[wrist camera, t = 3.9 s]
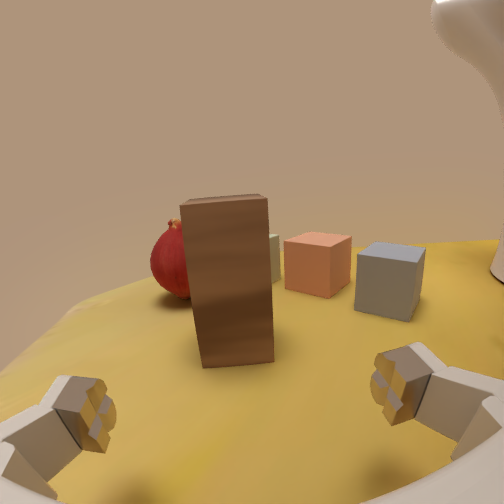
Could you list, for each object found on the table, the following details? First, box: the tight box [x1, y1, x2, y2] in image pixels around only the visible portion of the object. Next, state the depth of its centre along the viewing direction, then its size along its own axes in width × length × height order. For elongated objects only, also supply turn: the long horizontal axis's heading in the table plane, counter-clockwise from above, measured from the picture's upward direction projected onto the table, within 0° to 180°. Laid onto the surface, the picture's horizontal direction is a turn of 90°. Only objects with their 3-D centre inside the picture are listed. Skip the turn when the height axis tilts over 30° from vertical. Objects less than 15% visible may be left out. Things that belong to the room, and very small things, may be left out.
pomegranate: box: [150, 218, 191, 299], centre depth 27 cm, size 6×6×8 cm
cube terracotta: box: [284, 232, 352, 299], centre depth 28 cm, size 5×5×5 cm
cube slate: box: [354, 242, 426, 322], centre depth 22 cm, size 5×5×5 cm
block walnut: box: [180, 194, 274, 368], centre depth 18 cm, size 4×4×10 cm
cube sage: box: [269, 234, 281, 283], centre depth 31 cm, size 5×5×5 cm
